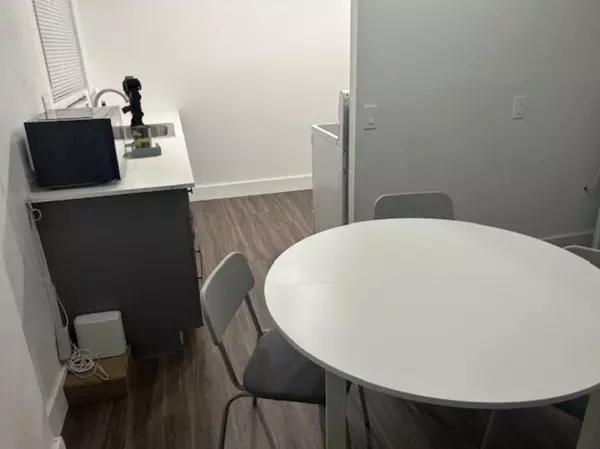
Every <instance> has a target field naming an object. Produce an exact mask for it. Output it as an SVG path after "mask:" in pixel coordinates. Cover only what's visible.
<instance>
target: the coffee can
mask: <svg viewBox="0 0 600 449" xmlns="http://www.w3.org/2000/svg"><path fill="white" fill-rule="evenodd" d="M132 132H133V134H132V139H133V138H134V140H133V142H134V143H133V146H134V148H135V149H140V148H150V147H154V146H153V139H152V132H151V125H149V124H144V125H137V126H132Z"/></svg>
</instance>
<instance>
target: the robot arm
mask: <svg viewBox="0 0 600 449" xmlns="http://www.w3.org/2000/svg"><path fill="white" fill-rule="evenodd" d="M121 86H122V91H123V92H124V95H125V96H126V97H127V99H128V103H129V104H128V105H124V106H123V107H121V112H122V113H123V114H124V115H126V114H127V113H129V112H130V114H131V119H130V124H129V128H130V133H131V135H133V131H132V126H137V125H145V123H144V122H143V117H144V116H145V112H143V109H142V101H141V100H142V94H141V93H140V91H142V89H143V88H142V83H141V81H140V80H139V78H137V77H135V78H134V76H133V75H126V76H124V80H123V81H122V82H121ZM132 139H133V142H132V144H134V138H133V137H132Z"/></svg>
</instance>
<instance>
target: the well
mask: <svg viewBox="0 0 600 449" xmlns="http://www.w3.org/2000/svg"><path fill="white" fill-rule="evenodd" d="M154 144H155V146H153V147H150V148H140V149H135V145H134V144H131V145H130V148H131V149H130V150H131V154H132V157H133V158H144V157H152V156H153V157H154V156H162V155H163V154H162V153H163V152H162V146H161V145H160V144H159V143H158V142H155V143H154Z"/></svg>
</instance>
